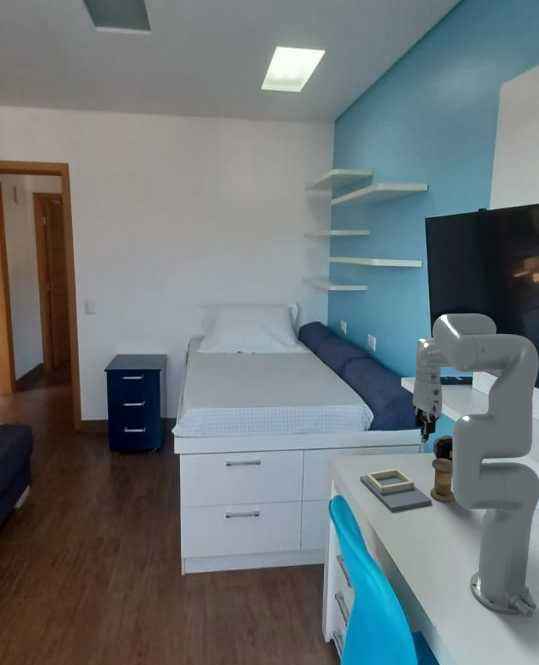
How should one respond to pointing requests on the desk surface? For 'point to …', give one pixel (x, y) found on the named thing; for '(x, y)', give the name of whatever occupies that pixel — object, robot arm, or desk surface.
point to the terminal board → (395, 489)
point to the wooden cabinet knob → (442, 480)
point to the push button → (424, 426)
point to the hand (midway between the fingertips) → (425, 429)
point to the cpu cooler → (443, 448)
